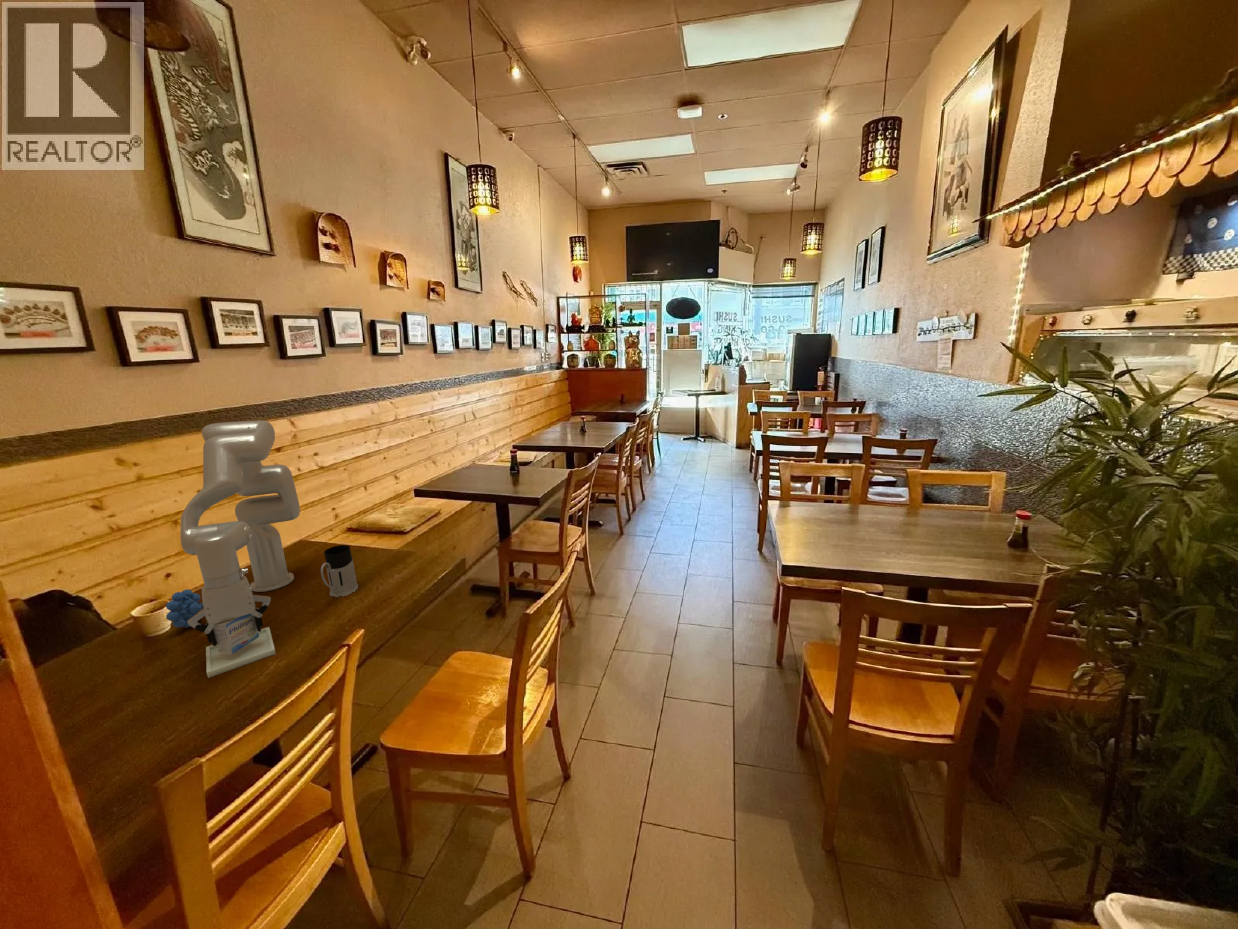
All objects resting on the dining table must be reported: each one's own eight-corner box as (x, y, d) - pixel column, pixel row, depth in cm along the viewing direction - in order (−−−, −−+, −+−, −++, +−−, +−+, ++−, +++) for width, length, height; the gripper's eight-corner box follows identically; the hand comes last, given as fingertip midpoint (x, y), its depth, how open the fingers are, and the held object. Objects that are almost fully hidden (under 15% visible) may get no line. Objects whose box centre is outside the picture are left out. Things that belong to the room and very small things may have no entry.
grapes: (190, 637, 134) (180, 599, 131) (164, 639, 134) (153, 601, 131) (219, 614, 146) (210, 579, 143) (195, 616, 145) (186, 581, 142)
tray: (207, 651, 128) (205, 647, 127) (270, 631, 136) (269, 626, 136) (208, 678, 117) (206, 672, 117) (275, 654, 126) (274, 649, 126)
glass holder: (363, 583, 163) (357, 543, 160) (341, 605, 150) (334, 562, 146) (338, 584, 163) (331, 544, 160) (314, 606, 150) (305, 563, 146)
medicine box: (232, 655, 122) (224, 625, 120) (218, 653, 123) (210, 624, 121) (260, 637, 130) (253, 609, 128) (246, 635, 131) (240, 607, 128)
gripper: (262, 563, 130) (275, 618, 134) (178, 584, 119) (194, 643, 123) (265, 572, 124) (278, 629, 129) (177, 595, 113) (194, 657, 118)
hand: (237, 636), depth 126 cm, fingers closed on medicine box, 9 cm apart
